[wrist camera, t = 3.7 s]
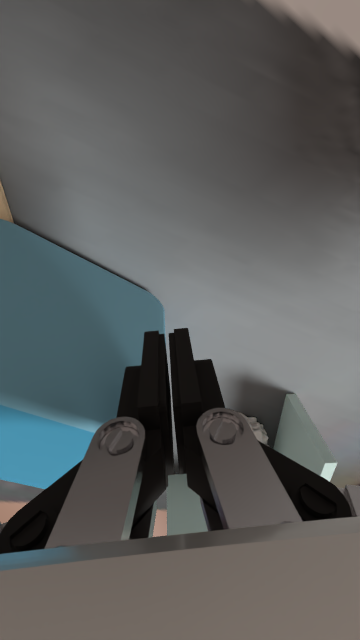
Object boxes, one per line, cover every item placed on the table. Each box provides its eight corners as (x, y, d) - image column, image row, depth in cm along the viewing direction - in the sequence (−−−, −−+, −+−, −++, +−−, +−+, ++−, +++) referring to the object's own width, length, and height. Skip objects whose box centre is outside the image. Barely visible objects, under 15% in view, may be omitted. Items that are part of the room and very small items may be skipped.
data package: (-28, 271, 18) (-260, 427, 8) (-11, 209, 16) (-288, 310, 6) (136, 342, 22) (119, 507, 12) (165, 299, 20) (173, 450, 10)
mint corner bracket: (293, 389, 26) (337, 462, 19) (272, 471, 32) (301, 550, 25) (164, 393, 25) (165, 470, 19) (166, 476, 31) (167, 558, 24)
